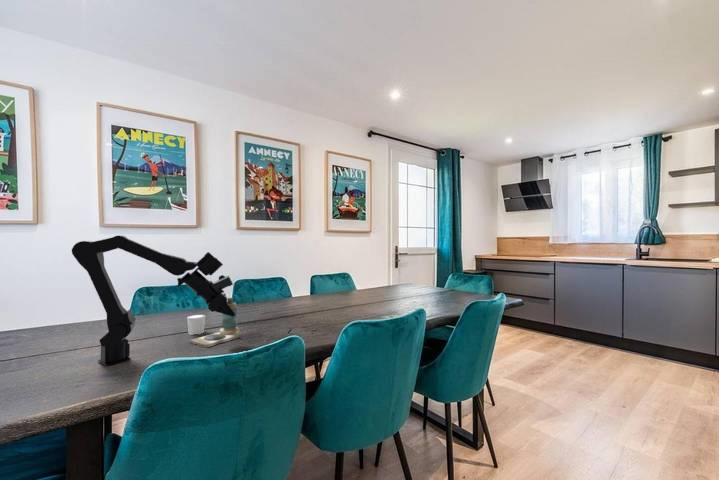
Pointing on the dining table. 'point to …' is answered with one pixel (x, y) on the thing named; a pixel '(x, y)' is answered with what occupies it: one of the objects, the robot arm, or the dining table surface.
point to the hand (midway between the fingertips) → (233, 313)
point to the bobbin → (230, 320)
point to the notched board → (213, 339)
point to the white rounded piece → (196, 324)
